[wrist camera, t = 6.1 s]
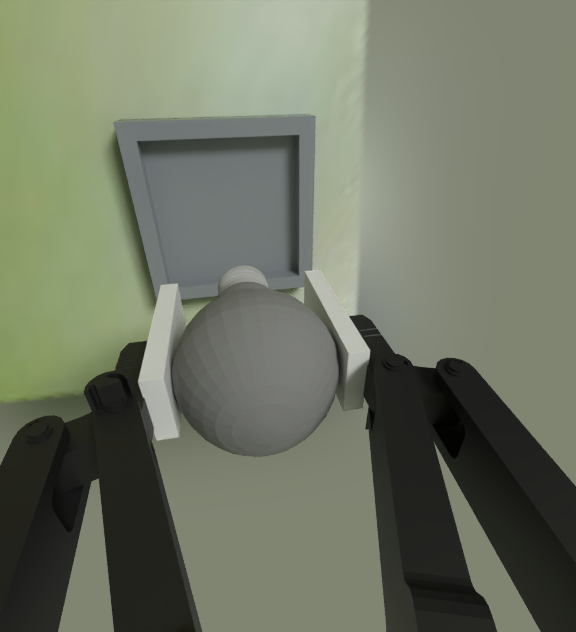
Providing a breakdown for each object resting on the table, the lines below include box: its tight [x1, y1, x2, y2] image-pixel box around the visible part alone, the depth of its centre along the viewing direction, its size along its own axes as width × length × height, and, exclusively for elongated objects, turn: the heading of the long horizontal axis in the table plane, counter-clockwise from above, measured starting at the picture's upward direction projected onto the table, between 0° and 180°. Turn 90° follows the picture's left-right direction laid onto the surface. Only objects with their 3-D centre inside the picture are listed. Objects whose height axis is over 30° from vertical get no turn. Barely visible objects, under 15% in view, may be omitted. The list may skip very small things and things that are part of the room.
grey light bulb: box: [172, 265, 339, 457], centre depth 15 cm, size 6×6×10 cm
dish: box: [114, 114, 315, 300], centre depth 30 cm, size 14×14×2 cm
